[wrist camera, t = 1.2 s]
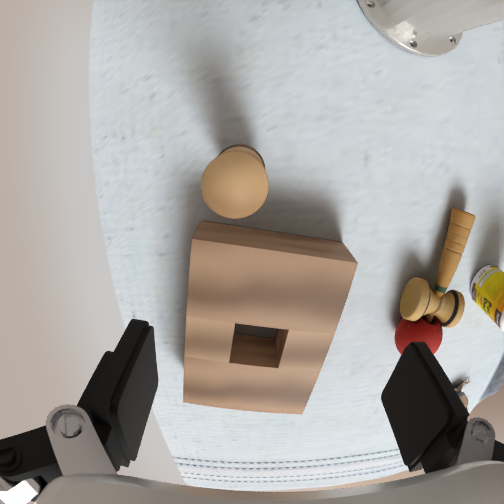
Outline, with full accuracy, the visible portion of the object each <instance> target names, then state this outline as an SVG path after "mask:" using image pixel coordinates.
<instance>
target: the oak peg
mask: <svg viewBox="0 0 504 504" xmlns="http://www.w3.org/2000/svg"><path fill="white" fill-rule="evenodd" d="M268 188H269V185H268V178H267V174H266V171H265V164H264V161H263V159H262V157H261V155H260V154H259V153H258V152H257V151H256V150H255V149H254V148H252V147H251V146H248V145H244V144H238V145H233V146H230V147H228V148H226V149H225V150H223V151H222V152H221V153H220V154H219V155H218V157H216V158H215V159H214V160H213V161H211V162H210V163H209V165H208V166H207V167H206V169H205V171H204V173H203V175H202V179H201V192H202V196H203V198H204V200H205V202H206V204H207V205H208V206H209V208H210V209H211V210H213V211H214V212H215V213H217V214H218V215H220V216H223V217H226V218H232V219H238V218H244V217H247V216H249V215H251V214H253V213H254V212H256V211H257V210H258V209H259V208H260V207H261V206H262V204H263V203H264V201H265V199H266V197H267V194H268Z"/></svg>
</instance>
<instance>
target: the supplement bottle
mask: <svg viewBox="0 0 504 504" xmlns="http://www.w3.org/2000/svg"><path fill="white" fill-rule="evenodd" d="M470 294H471V297H472V299H473V300H474V301H475V303H476V304H477V305H478V306H479V307H480V308H481V309H482V310H483V311H484V312H485V313H486V314H487V315H488V316H489V317H490V318H491V319H492V320H493V321H494V322H495V323H496V324H497V325H498V326H499V327H500V328H501V329H502V330H503V331H504V272H503V271H502V270H500V269H499V268H498V267H496V266H494V265H487V266H484V267H483V268H481V269H480V270H479V271H478V272H477V274H476V275H475V277H474V279H473V281H472V283H471V288H470Z"/></svg>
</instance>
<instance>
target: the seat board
mask: <svg viewBox="0 0 504 504" xmlns="http://www.w3.org/2000/svg"><path fill="white" fill-rule="evenodd" d="M357 264H358V263H357V261H356V260H355V258H354V257H353V256H352V254H351V253H350V252H349V250H348V249H347V248H346V246H345V245H344V243H343V242H337V241H331V240H325V239H319V238H312V237H306V236H300V235H293V234H287V233H280V232H274V231H267V230H260V229H254V228H247V227H240V226H233V225H226V224H219V223H212V222H205V221H201V222H200V224H199V226H198V228H197V230H196V232H195V234H194V236H193V238H192V243H191V254H190V267H189V280H188V295H187V311H186V330H185V353H184V389H183V402H185V403H191V404H198V405H204V406H211V407H219V408H227V409H236V410H245V411H256V412H269V413H286V414H302V413H303V411H304V409H305V406H306V404H307V402H308V400H309V397H310V395H311V392H312V390H313V388H314V385H315V383H316V380H317V378H318V376H319V373H320V371H321V368H322V365H323V363H324V360H325V358H326V355H327V353H328V350H329V347H330V345H331V342H332V339H333V336H334V334H335V331H336V328H337V325H338V322H339V320H340V317H341V314H342V311H343V308H344V305H345V302H346V299H347V296H348V293H349V290H350V287H351V284H352V280H353V277H354V274H355V271H356V267H357ZM235 323H237V324H245V325H253V326H261V327H269V328H278V330H277V334H276V338H266V337H257V336H249V335H241V334H234V328H235Z"/></svg>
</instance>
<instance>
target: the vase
mask: <svg viewBox="0 0 504 504" xmlns="http://www.w3.org/2000/svg"><path fill="white" fill-rule="evenodd" d="M469 382H470V380H468V382H463V381H462V383H460V384H461V385H460V386H458V387H457V388H454V389H455V390H456V392H457V394H458V396H459V397H460V399H461V401H462V402H463V404H464V406H465V408H466V409H467V405H468V399H467V396H466V395H465V394H464V393H463V392H461V389H462V386H464V385H463V384H468V383H469ZM464 387H465V386H464ZM466 419H468V418H466Z"/></svg>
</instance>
